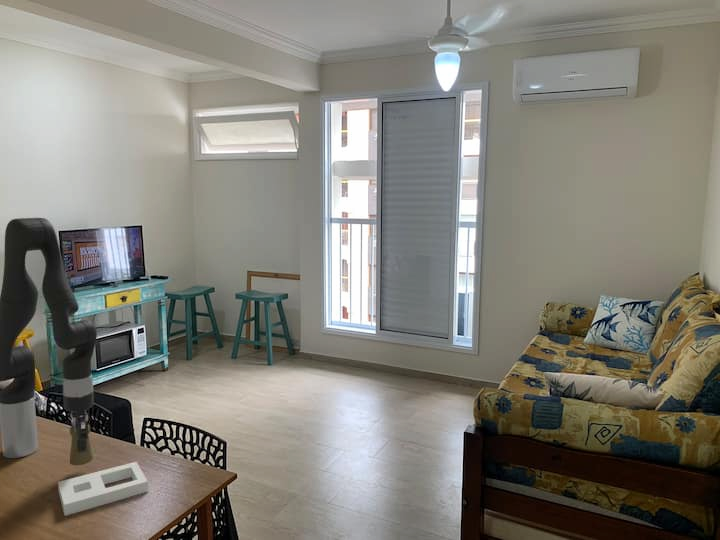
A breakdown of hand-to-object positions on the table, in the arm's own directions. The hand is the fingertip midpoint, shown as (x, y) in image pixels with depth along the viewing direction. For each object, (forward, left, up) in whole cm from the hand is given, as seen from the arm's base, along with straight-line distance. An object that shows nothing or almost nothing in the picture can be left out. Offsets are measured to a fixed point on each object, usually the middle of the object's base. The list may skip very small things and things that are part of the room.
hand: (80, 447), depth 153 cm
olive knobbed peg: (0, 0, -4) cm, 4 cm away
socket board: (+14, +3, -8) cm, 17 cm away
